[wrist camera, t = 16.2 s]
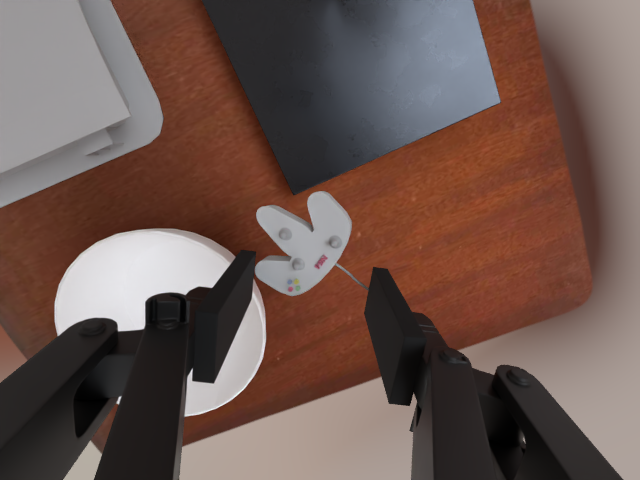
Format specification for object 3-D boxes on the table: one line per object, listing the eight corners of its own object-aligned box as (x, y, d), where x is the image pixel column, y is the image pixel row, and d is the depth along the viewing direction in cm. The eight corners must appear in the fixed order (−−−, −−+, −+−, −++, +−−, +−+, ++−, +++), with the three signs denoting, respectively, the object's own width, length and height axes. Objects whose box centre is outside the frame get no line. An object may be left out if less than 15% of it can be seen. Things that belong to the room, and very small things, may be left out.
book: (174, 132, 31) (154, 130, 27) (-28, 219, 33) (-73, 228, 29) (86, -49, 27) (49, -81, 23) (-136, 63, 29) (-204, 50, 25)
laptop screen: (391, -270, 21) (393, -287, 20) (496, 103, 27) (501, 102, 27) (152, -109, 24) (145, -118, 24) (294, 194, 31) (293, 195, 30)
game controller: (272, 170, 17) (265, 174, 15) (468, 240, 18) (492, 255, 16) (243, 266, 19) (231, 285, 16) (426, 325, 20) (442, 351, 17)
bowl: (219, 181, 32) (191, 190, 25) (305, 328, 36) (302, 370, 29) (71, 262, 34) (7, 290, 27) (169, 391, 38) (136, 445, 31)
